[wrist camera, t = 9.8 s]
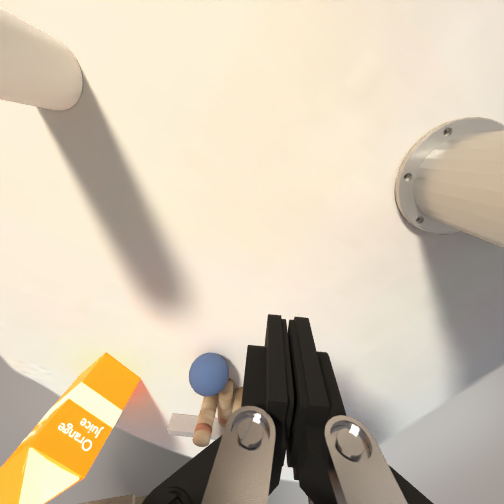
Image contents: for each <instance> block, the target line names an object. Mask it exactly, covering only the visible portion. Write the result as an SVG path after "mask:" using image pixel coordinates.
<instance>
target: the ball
mask: <svg viewBox="0 0 504 504" xmlns="http://www.w3.org/2000/svg"><path fill="white" fill-rule="evenodd" d="M228 377H229V369H228V365H227V363H226V361H225V360H224V359H223V358H222V357H221V356H220V355H218V354H215V353H205V354H203V355H201V356H199V357H198V358H197V359H196V360H195V361H194V362H193V364H192V366H191V368H190V371H189V381H190V384H191V387H192V388H193V390H194V391H195V392H196V393H198V394H199V395H202V396H207V397H208V396H213V395H216V394H218V393H219V392H220V391H222V390H223V388H224V387H225V385H226V384H227V381H228Z"/></svg>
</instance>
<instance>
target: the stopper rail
mask: <svg viewBox="0 0 504 504" xmlns="http://www.w3.org/2000/svg"><path fill="white" fill-rule="evenodd" d="M198 418H199V416H193V415H184V414H174V413H173V414H172V417H171V419H170V422H169V425H168V427H167V434H168V435H177V436H186V437H194V431H195V428H196V425H197V422H198ZM224 429H225V427H222V426H220V425H219V423H218V418H214V422H213V427H212V433H211V438H210V439H214V440H216V439H218V438H219V437H220V436H221V435H223V433H224Z"/></svg>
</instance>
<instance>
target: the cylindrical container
mask: <svg viewBox="0 0 504 504" xmlns="http://www.w3.org/2000/svg"><path fill="white" fill-rule="evenodd" d="M82 86H83V80H82V73H81V69H80V66H79V64H78V61H77V59H76V57H75V56H74V54H73V52H72V51H71V50H70V49H69V48H68V46H66V45H65V44H64V43H63V42H62V41H61V40H59V39H57V38H56V37H54V36H52V35H50V34H49V33H47V32H45V31H43V30H41V29H39V28H37V27H36V26H34V25H32V24H30V23H28V22H26V21H25V20H23V19H21V18H19V17H17V16H15V15H13V14H12V13H10V12H8V11H6V10H4V9H2V8H1V7H0V99H1V100H6V101H11V102H16V103H21V104H26V105H31V106H36V107H41V108H46V109H51V110H57V111H61V110H66V109H69V108H71V107H72V106H74V105H75V104H76V102H77V101H78V100H79V98H80V96H81V92H82Z"/></svg>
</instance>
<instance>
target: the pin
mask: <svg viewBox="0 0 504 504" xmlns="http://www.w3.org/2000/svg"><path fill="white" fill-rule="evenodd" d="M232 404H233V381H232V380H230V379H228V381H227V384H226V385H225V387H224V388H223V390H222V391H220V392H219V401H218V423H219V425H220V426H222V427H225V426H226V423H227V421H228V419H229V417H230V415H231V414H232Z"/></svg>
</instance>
